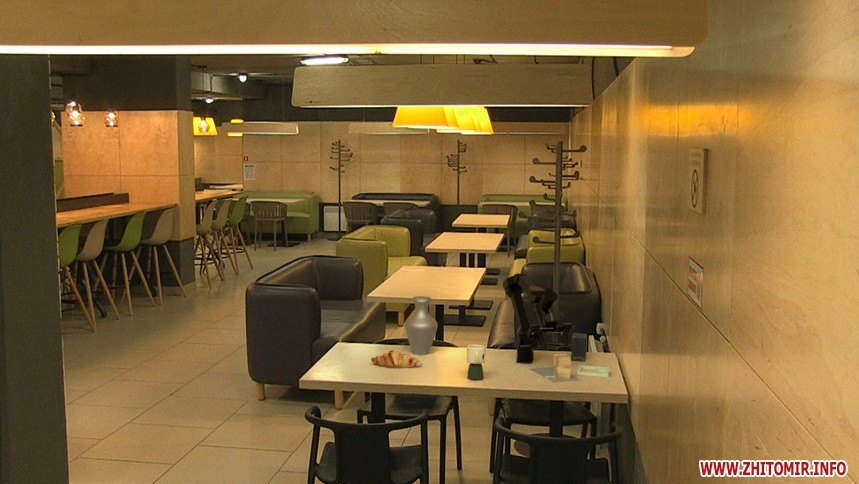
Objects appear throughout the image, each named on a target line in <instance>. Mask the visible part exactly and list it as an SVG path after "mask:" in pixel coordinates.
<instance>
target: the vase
mask: <svg viewBox="0 0 859 484" xmlns="http://www.w3.org/2000/svg"><path fill="white" fill-rule="evenodd" d="M412 300H413V303H414V308H415V309H414V312H413V315H411V316H410V317H409V318H408V319H407V320H405V322H404V328H405V332H406V336H407V340H408V343H409V346H410V348H411V350H412V354H413V355H416V356H425V355H429V352H430V350H431V348H432V346H433V342H434V340H435V337H436V334H437V330H438V321H437V320H435V318H433V317H432V316H431V315H430V313H429V305H430V302H431V300H432V297H430V296H424V295H423V296H422V295H421V296H420V295H418V296H417V295H416V296H413V297H412Z"/></svg>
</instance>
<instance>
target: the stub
mask: <svg viewBox="0 0 859 484" xmlns="http://www.w3.org/2000/svg"><path fill="white" fill-rule="evenodd" d="M553 357H554V358H553V359H554V360H553V361H554V362H553V367H554V378H556V379H558V380H563V379H570V375H571V366H572V365H571V363H572V362H571V361H572V360H571V355H569V354H567V353H562V354H561V353H560V354H559V353H557V354H554V356H553Z"/></svg>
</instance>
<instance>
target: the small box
mask: <svg viewBox="0 0 859 484" xmlns="http://www.w3.org/2000/svg"><path fill="white" fill-rule="evenodd" d="M571 336H572V337H571V350H570V351H571V354H570V356H571V361H575V362H586V358H587V357H586V356H587V348H588V346H587V345H588V344H587V343H588V339H587V338H588V335H587V333H582V332H572V335H571Z"/></svg>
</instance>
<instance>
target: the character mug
mask: <svg viewBox="0 0 859 484" xmlns="http://www.w3.org/2000/svg"><path fill="white" fill-rule="evenodd" d="M485 362H486V346H485V345H483V344H468V345H467V346H466V363H469V365H468V370H467V379H474V380H475V381H476V380H483V379H484V368H483V365H482V364H484V363H485Z"/></svg>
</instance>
